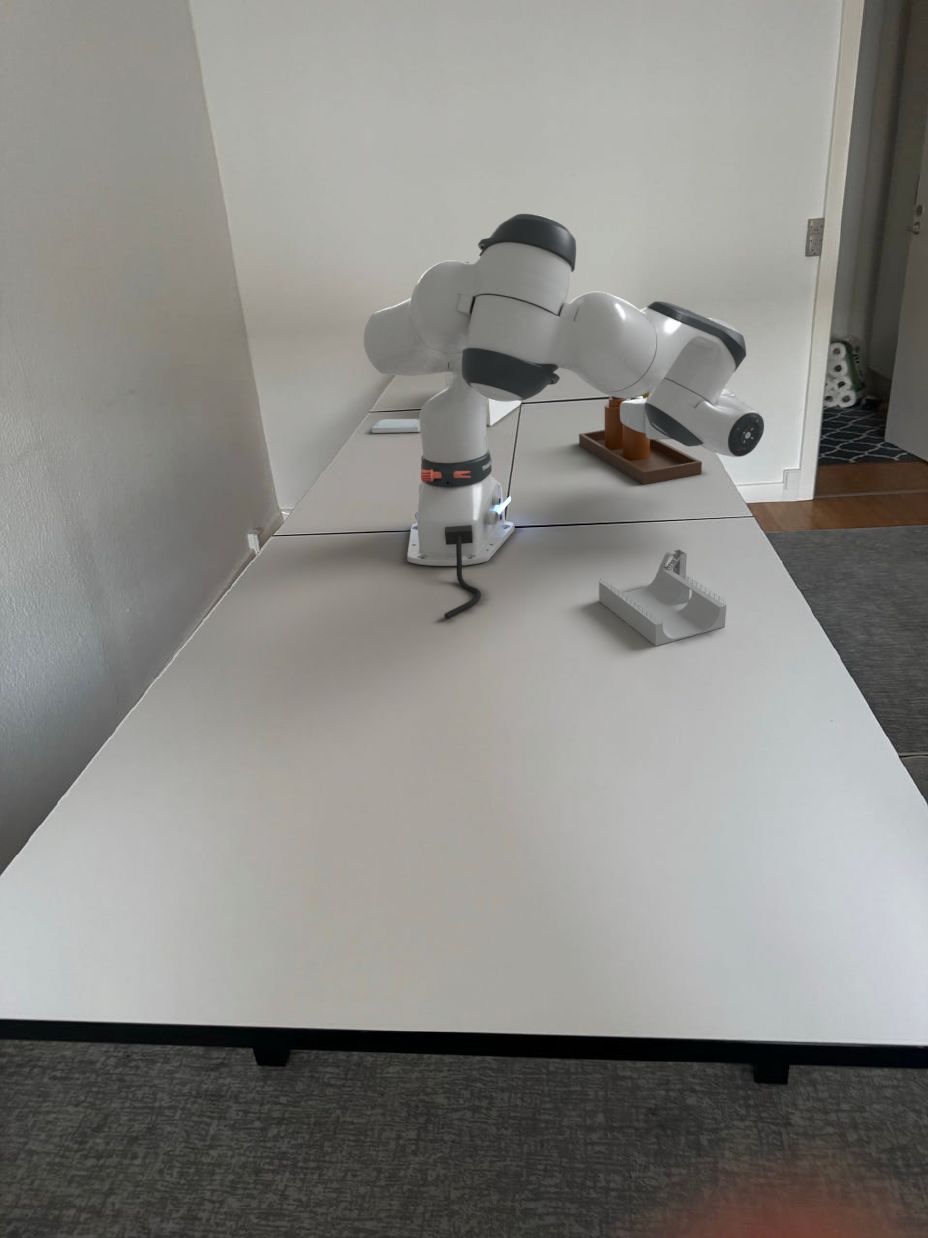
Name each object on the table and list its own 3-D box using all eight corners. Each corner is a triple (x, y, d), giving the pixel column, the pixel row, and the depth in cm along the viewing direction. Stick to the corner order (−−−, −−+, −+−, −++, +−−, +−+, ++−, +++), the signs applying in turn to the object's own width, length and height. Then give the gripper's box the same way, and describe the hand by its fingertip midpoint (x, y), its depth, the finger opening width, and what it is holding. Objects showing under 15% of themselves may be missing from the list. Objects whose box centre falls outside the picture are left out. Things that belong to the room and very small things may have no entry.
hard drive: (371, 427, 213) (418, 426, 210) (381, 418, 220) (426, 417, 217) (372, 433, 214) (418, 432, 211) (382, 425, 221) (427, 423, 218)
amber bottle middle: (654, 457, 176) (655, 397, 170) (629, 461, 174) (630, 401, 169) (642, 450, 180) (642, 392, 175) (618, 454, 179) (618, 396, 174)
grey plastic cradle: (599, 600, 121) (598, 568, 118) (678, 580, 125) (679, 548, 122) (655, 646, 108) (656, 611, 106) (741, 622, 112) (744, 587, 110)
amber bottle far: (634, 446, 183) (635, 389, 178) (611, 450, 182) (611, 392, 176) (623, 440, 188) (623, 384, 182) (600, 444, 187) (600, 387, 181)
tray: (701, 473, 165) (701, 461, 164) (643, 484, 163) (643, 472, 162) (629, 435, 193) (629, 425, 191) (579, 444, 190) (578, 433, 189)
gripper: (751, 386, 143) (709, 372, 155) (641, 403, 139) (606, 388, 151) (748, 422, 146) (707, 406, 158) (641, 441, 142) (607, 423, 154)
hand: (657, 397), depth 154 cm, fingers closed on pill bottle, 6 cm apart
